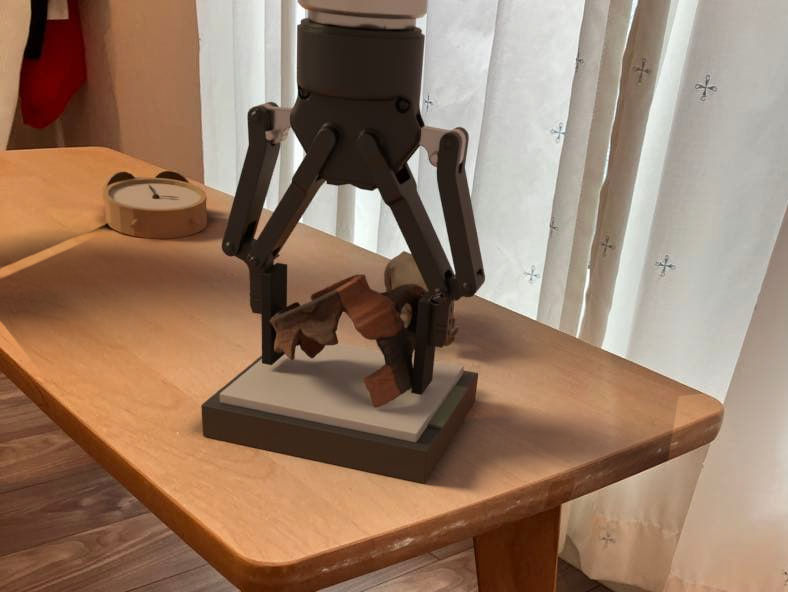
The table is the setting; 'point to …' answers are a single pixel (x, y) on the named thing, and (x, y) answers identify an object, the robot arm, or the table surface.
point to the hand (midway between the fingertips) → (346, 372)
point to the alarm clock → (154, 205)
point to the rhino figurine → (407, 272)
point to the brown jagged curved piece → (370, 318)
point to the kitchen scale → (341, 412)
